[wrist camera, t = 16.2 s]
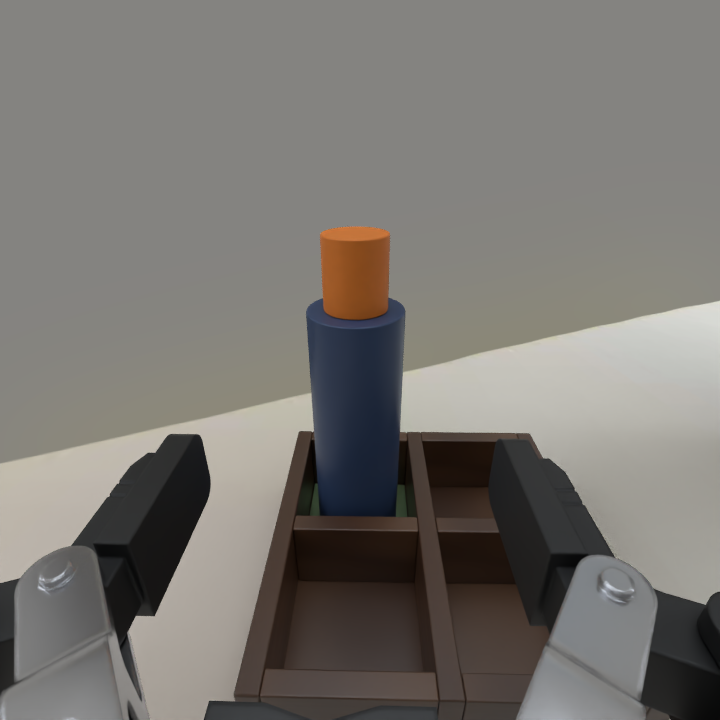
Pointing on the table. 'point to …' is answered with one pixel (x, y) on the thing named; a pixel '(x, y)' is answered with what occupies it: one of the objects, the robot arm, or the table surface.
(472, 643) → the organizer
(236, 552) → the table surface
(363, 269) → the bottle
